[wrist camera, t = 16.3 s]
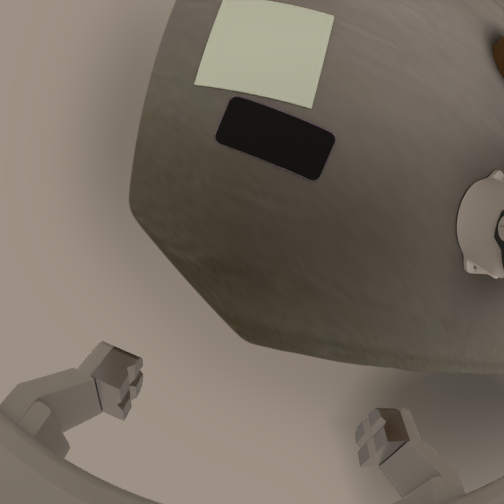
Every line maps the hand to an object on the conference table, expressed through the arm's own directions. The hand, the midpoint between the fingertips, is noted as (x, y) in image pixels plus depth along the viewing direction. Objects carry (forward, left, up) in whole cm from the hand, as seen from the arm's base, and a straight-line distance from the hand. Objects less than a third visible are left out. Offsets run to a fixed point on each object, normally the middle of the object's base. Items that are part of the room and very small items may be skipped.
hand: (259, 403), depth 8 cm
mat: (+7, -23, -31) cm, 39 cm away
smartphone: (+3, -10, -32) cm, 33 cm away
